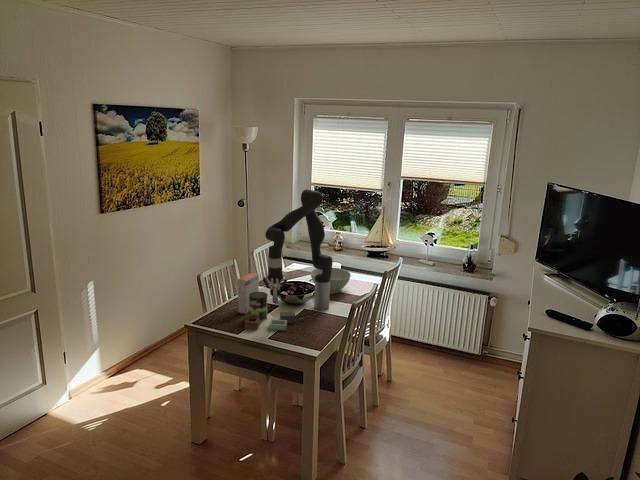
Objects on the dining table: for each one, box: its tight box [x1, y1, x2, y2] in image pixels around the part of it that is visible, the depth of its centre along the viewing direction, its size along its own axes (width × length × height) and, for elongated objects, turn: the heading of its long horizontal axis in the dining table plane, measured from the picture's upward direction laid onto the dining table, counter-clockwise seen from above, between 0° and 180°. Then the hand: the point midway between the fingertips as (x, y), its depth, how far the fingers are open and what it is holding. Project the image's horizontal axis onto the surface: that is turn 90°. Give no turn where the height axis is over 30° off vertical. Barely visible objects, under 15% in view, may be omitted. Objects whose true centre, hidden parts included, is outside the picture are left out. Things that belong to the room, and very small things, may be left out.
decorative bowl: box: [310, 267, 351, 295], centre depth 311 cm, size 27×27×12 cm
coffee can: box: [248, 291, 269, 322], centre depth 263 cm, size 10×10×14 cm
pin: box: [272, 285, 279, 304], centre depth 249 cm, size 3×3×9 cm
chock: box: [279, 310, 296, 324], centre depth 262 cm, size 6×8×4 cm
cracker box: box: [237, 272, 260, 315], centre depth 273 cm, size 14×6×21 cm, turn 155°
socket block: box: [244, 316, 261, 331], centre depth 253 cm, size 7×7×4 cm
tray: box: [268, 318, 288, 331], centre depth 253 cm, size 7×9×3 cm
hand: (275, 295), depth 250 cm, fingers closed on pin, 2 cm apart
